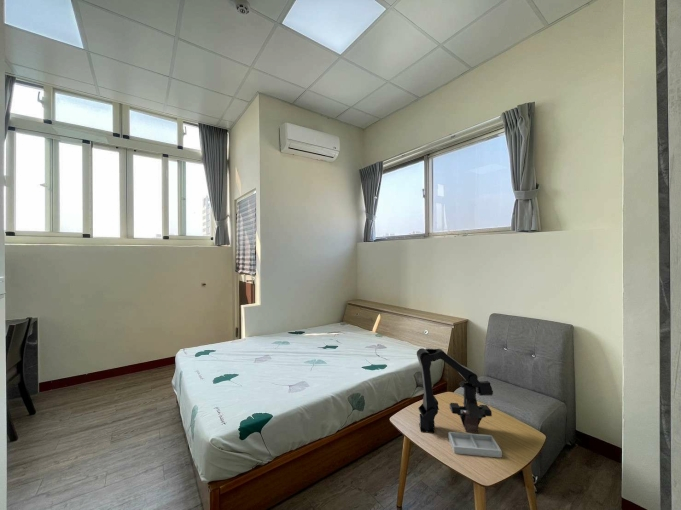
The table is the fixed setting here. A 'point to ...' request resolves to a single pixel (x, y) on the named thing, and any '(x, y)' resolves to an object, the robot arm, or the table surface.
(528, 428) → the table surface
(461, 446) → the tray
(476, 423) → the box
